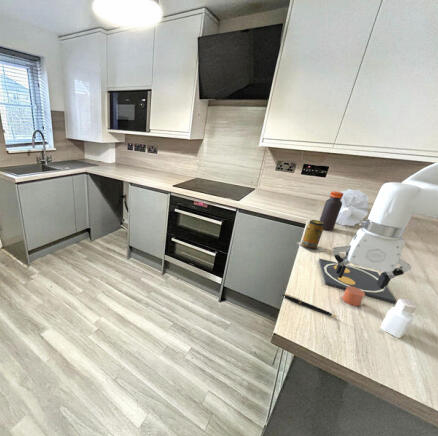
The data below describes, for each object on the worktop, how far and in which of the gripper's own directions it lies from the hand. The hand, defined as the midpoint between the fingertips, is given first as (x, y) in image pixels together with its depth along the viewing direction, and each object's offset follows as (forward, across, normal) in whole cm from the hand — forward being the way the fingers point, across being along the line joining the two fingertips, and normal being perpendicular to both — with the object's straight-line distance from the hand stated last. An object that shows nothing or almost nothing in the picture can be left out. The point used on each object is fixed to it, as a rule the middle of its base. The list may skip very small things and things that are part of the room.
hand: (358, 280), depth 70 cm
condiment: (+8, -8, +36) cm, 38 cm away
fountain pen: (+8, -12, -10) cm, 17 cm away
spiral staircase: (+7, +12, +86) cm, 87 cm away
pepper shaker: (+8, +8, -9) cm, 14 cm away
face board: (+7, +4, +15) cm, 17 cm away
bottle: (+7, +2, +66) cm, 67 cm away
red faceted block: (+8, 0, 0) cm, 8 cm away
